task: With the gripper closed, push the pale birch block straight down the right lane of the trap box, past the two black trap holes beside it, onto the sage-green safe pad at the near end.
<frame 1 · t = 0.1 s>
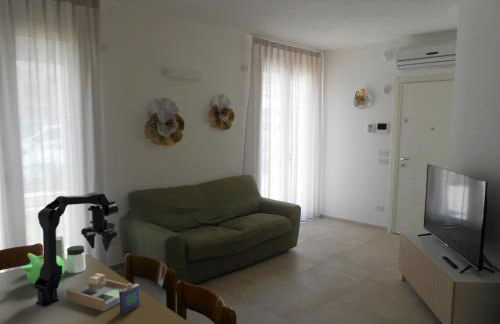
hand: (99, 249, 181), 15 cm above the table, tool pointing down, fingers open, 9 cm apart
blue green box: (130, 309, 151), on the table
block: (97, 286, 167), point 2 cm above the table, touching trap box
trap box: (100, 297, 161), on the table
skincare box: (55, 267, 197), on the table
toy bird: (45, 284, 176), on the table
jar: (76, 270, 193), on the table
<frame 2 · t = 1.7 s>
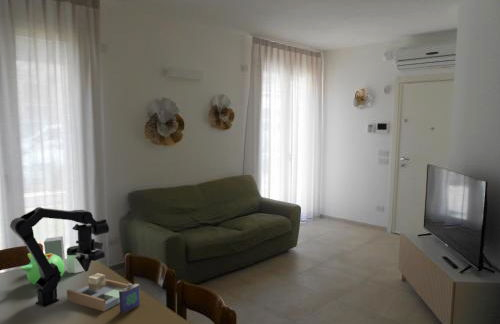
hand: (86, 271, 169), 9 cm above the table, tool pointing down, fingers closed
nothing on the table moved.
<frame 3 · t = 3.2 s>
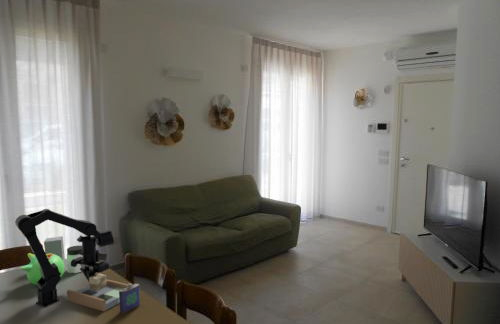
hand: (90, 282, 168), 4 cm above the table, tool pointing down, fingers closed
block: (98, 286, 166), point 3 cm above the table, touching gripper
everything else where it was.
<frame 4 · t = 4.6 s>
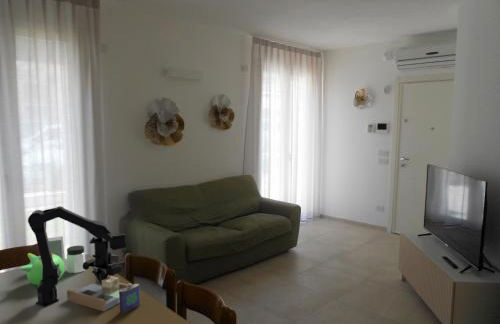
hand: (103, 285, 165), 4 cm above the table, tool pointing down, fingers closed
block: (110, 290, 163), point 3 cm above the table, touching gripper
everything else where it was.
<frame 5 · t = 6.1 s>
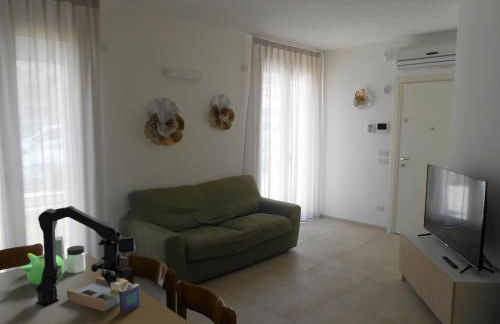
hand: (112, 288, 162), 4 cm above the table, tool pointing down, fingers closed
block: (119, 292, 160), point 2 cm above the table, touching gripper, trap box
everything else where it was.
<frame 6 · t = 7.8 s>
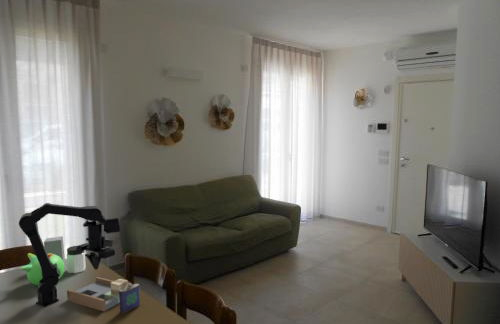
hand: (96, 269, 165), 11 cm above the table, tool pointing down, fingers closed
block: (119, 292, 160), point 2 cm above the table, touching trap box
everything else where it was.
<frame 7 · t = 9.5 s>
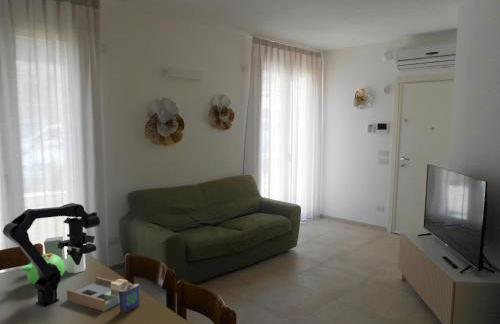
hand: (77, 264, 168), 12 cm above the table, tool pointing down, fingers closed
nothing on the table moved.
at the end: block inside the target area on the trap box (1.3 cm from its centre), point 2.5 cm above the trap box's base; block tilted 0° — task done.
